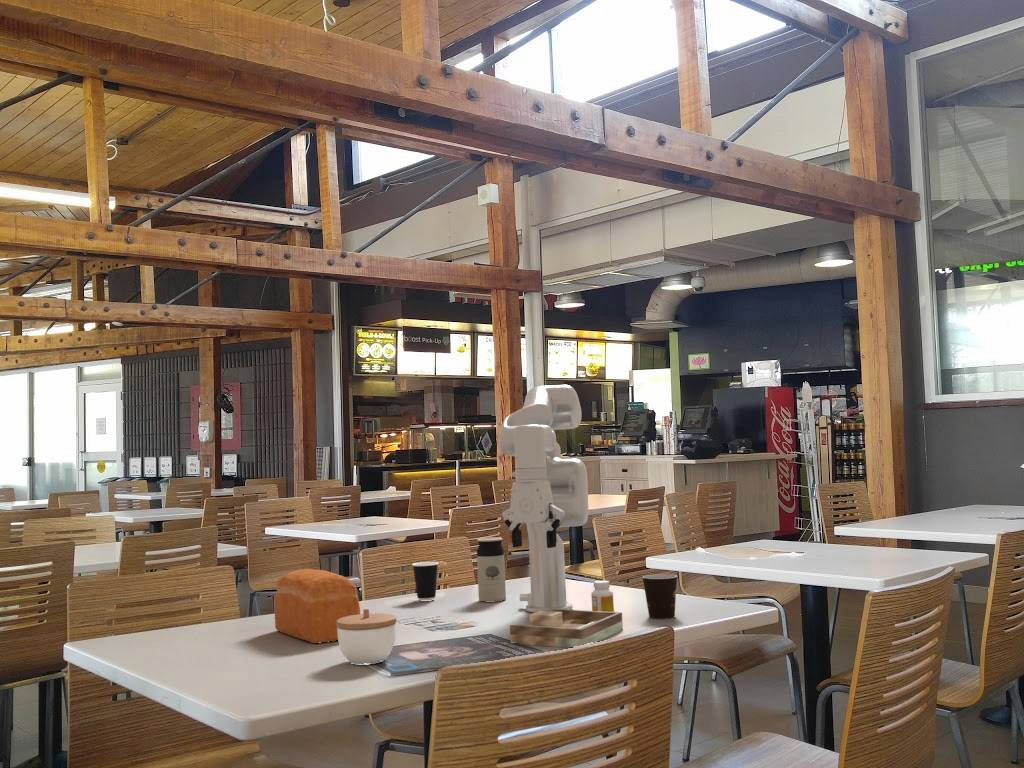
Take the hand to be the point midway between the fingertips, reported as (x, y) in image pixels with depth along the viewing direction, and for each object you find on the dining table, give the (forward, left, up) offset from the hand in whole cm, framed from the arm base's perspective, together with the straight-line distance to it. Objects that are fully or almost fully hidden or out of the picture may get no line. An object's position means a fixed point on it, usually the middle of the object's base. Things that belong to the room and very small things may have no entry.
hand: (534, 547), depth 224 cm
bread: (-52, -19, -20) cm, 59 cm away
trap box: (+9, -3, -20) cm, 22 cm away
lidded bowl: (-20, -40, -20) cm, 49 cm away
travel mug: (-36, +38, -20) cm, 56 cm away
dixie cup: (-56, +33, -20) cm, 68 cm away
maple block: (+4, -3, -18) cm, 19 cm away
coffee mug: (+21, +28, -20) cm, 41 cm away
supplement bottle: (+9, +17, -20) cm, 28 cm away
